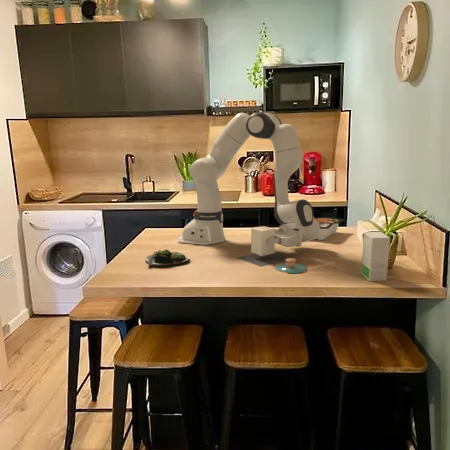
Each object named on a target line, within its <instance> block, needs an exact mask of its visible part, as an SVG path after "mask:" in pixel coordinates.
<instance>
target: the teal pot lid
mask: <svg viewBox="0 0 450 450" xmlns="http://www.w3.org/2000/svg"><path fill="white" fill-rule="evenodd" d="M274 269H275V270H276V271H278V272H281V273H286V274H289V275H293V274H302V273H305V272H306V271H307V269H308V267H307V265H305V264H302V263H300V262H299V263H298V262H297V259H296V258H291V257H287V259H286V261H285V262H279V263H276V264H274ZM304 271H305V272H304ZM301 272H302V273H301Z"/></svg>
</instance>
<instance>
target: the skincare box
mask: <svg viewBox="0 0 450 450" xmlns="http://www.w3.org/2000/svg"><path fill="white" fill-rule="evenodd" d="M362 242H363V243H362V255H361V256H362V257H361V271H360V274H361V275H362V276H363V277H364V278H365V279H366V280H367V281H368V282H382V281H383V282H384V281H387V279H388V267H389V253H390V244H391V237H390V236H388V235H387V234H385V233H383V232H382V231H365V232H363V240H362Z"/></svg>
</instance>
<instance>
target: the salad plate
mask: <svg viewBox="0 0 450 450" xmlns="http://www.w3.org/2000/svg"><path fill="white" fill-rule="evenodd" d="M144 260H145V261H146V262H147V265H149V266H151V267H154V268H159V269H160V268H171V267H177V266H178V267H179V266H183V265H187V264H188V263H189V261H190V257H189V256H187V255H186V254H184V253H182V252H181V251H180V252H179V251H170V250H169V249H164V250H161V249H160V250H156V251H153V253H152V254H150V255H147V256H145V257H144Z"/></svg>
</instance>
